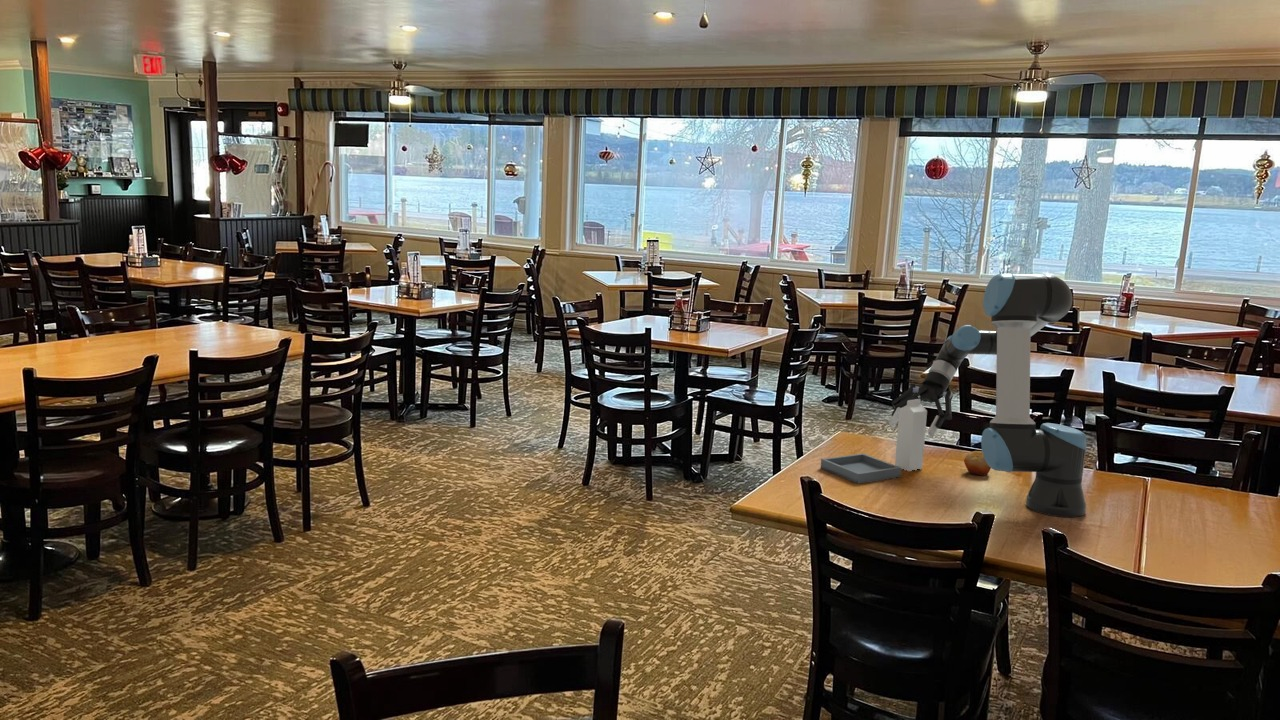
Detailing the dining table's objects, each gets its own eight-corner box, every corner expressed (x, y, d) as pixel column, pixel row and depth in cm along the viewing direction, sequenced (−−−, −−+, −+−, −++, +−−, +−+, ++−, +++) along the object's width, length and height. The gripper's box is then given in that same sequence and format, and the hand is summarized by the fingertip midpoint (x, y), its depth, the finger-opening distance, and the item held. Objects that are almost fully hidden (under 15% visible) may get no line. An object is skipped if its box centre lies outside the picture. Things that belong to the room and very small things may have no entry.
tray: (900, 477, 284) (901, 467, 283) (857, 483, 276) (858, 474, 275) (862, 462, 299) (863, 453, 298) (820, 468, 291) (821, 459, 290)
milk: (894, 466, 295) (899, 398, 291) (908, 464, 298) (913, 396, 294) (909, 471, 290) (914, 402, 286) (922, 469, 293) (928, 400, 289)
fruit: (995, 467, 293) (994, 448, 288) (988, 484, 288) (988, 466, 283) (968, 462, 297) (967, 444, 292) (962, 479, 292) (960, 461, 288)
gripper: (978, 391, 293) (950, 445, 286) (908, 378, 311) (879, 429, 303) (972, 376, 289) (943, 431, 281) (900, 364, 306) (871, 415, 299)
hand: (910, 430), depth 292 cm, fingers open, 13 cm apart
